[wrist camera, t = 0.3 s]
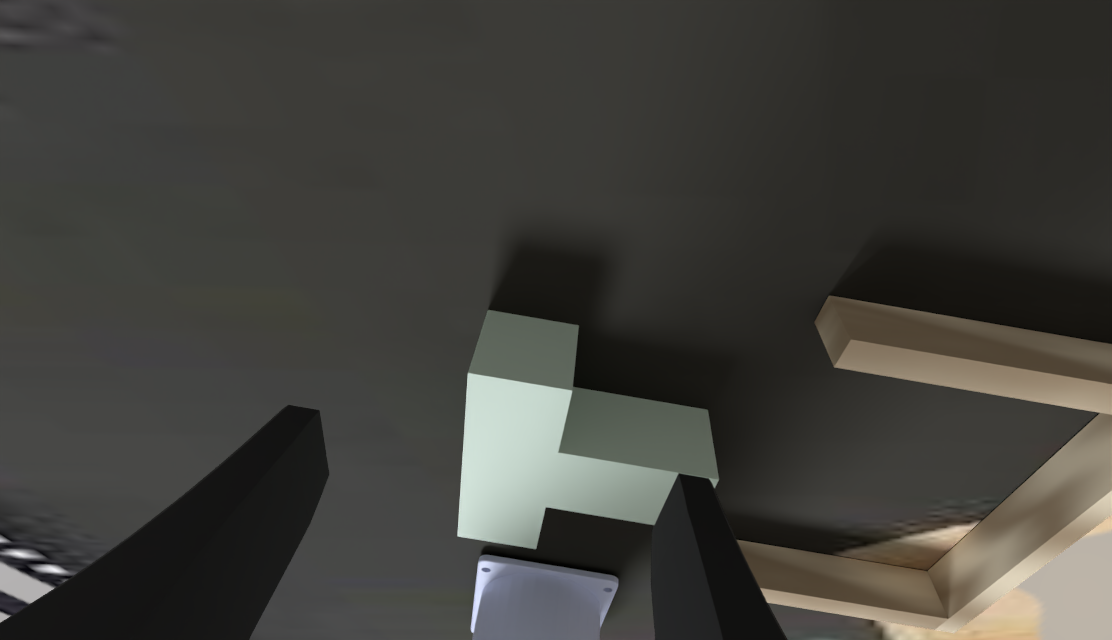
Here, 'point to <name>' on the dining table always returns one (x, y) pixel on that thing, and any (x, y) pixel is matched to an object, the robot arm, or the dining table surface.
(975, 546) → the dock
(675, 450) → the tee
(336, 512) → the dining table surface
